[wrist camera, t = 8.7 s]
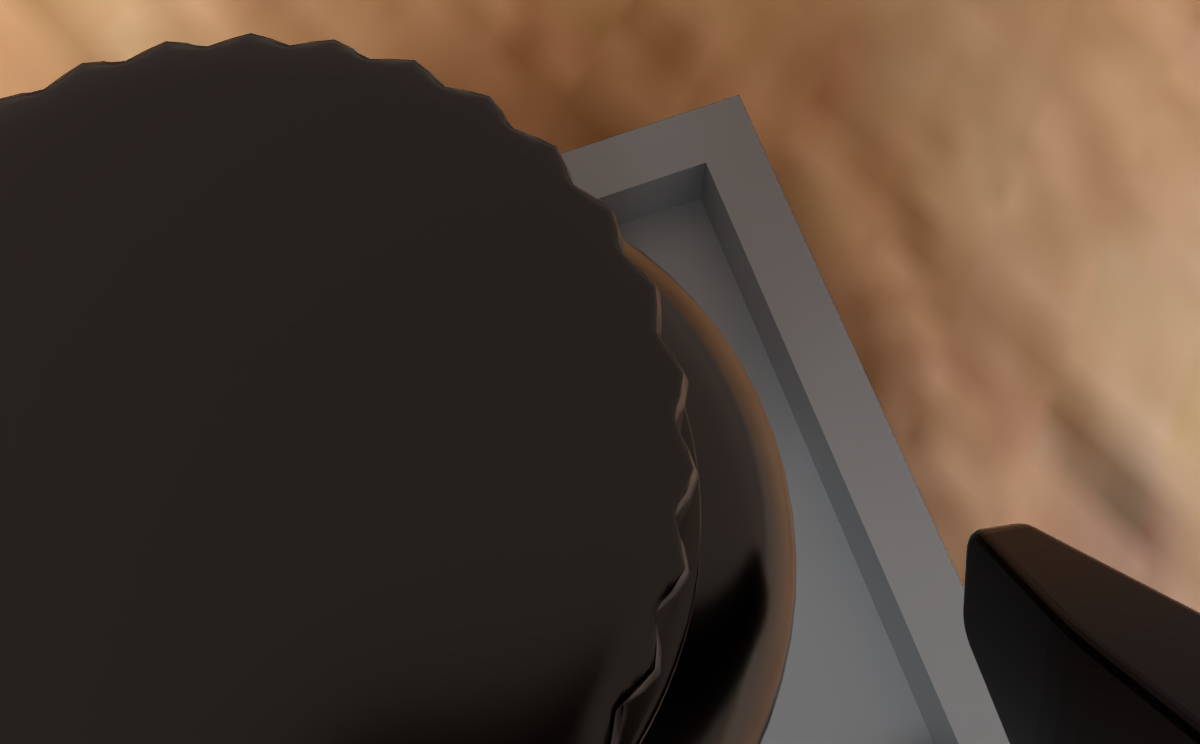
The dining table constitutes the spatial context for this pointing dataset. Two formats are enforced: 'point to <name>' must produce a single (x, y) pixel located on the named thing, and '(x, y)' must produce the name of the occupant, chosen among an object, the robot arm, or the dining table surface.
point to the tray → (807, 440)
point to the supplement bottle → (359, 427)
